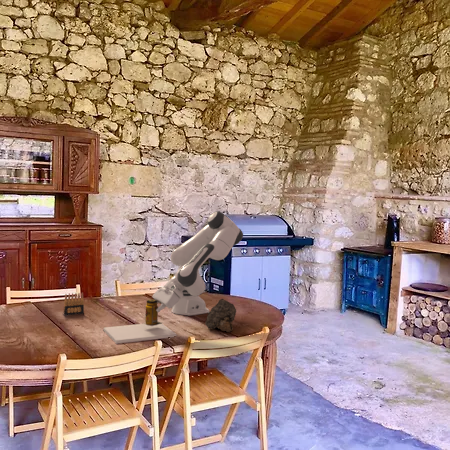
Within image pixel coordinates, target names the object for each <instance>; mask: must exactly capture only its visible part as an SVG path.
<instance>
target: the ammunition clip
mask: <svg viewBox="0 0 450 450" xmlns="http://www.w3.org/2000/svg"><path fill="white" fill-rule="evenodd" d="M84 301H85V300H84V293H83V292H81V294H80V292H78V293H76V292H75V293H73V292H72V293H71V294H70V293H68V294H67V293H65V295H64V301H63V302H64V304H63V305H64V306H63V316H73V315H84V314H85V310H84Z"/></svg>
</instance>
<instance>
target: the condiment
mask: <svg viewBox="0 0 450 450" xmlns="http://www.w3.org/2000/svg"><path fill="white" fill-rule="evenodd" d="M157 307H159V306H158V304H157V300H155V299H154V298H153V299H147V300H146V304H145V319H144V320H145V321H144V322H142V323H141V324H145V325H148V326H155V325H158V324H163V322H161V321H158V318H159V316H158V314H159V312H157V311H156V309H157Z"/></svg>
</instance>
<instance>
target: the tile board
mask: <svg viewBox="0 0 450 450" xmlns="http://www.w3.org/2000/svg"><path fill="white" fill-rule="evenodd" d="M102 329H103V332H104V333H105V334H106V335H107V336H108V337H109V339H111V340H112V341H113V342H114V344H124V343H125V344H126V343H132V342H141V341H142V342H143V341H150V340H151V341H152V340H160V339H169V338H168V337H170V338H175V337H174V336H176V337H177V335H178V334H177V333H176V332H175V331H174V330H172V329H170V328H169V327H168V326H166V325H164V323H162V324H158V325H155V326H148V325H145V324H142V323H136V324H128V325H125V324H124V325H117V326H108V327H107V326H105V327H103V328H102Z"/></svg>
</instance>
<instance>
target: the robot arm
mask: <svg viewBox="0 0 450 450" xmlns="http://www.w3.org/2000/svg"><path fill="white" fill-rule="evenodd" d="M243 237H244V232H243V231H242V229H241V228H240V227H239V226H238V225H237V224H236V223H235V222H234V221H233V220H231V219H230V217H228V216H226V215H225V213H223V212H222V211H220V210H216V211H214V212H213V213H211V214H210V216H208V219H207V224H206V225H205V226H203V228H201V229H200V230H199V231H198V232H197V233H196V234H195V235H193V236H192V237H191V238H189V239H188V240H186V241H184V242H183V243H182V244H180V246H178V247H177V248H175V249H174V250H173V251H171V254H170V261H171V263H172V264H173V265H174V266H178V268H177V270H176V273H175V274H174V276H172V277H171V278H170V279H169V280H168V281H167V282H166V283H165V284H164V286H161V287H159V288H158V289H157V290H156V291H155V292H154V293H153V295H152V296H151V297H152V298H153V299H154V300H157V305H158V304H160V305H159V306H158V307H157V309H156V311H157V312H158V313H160V312H161V310H163V309H165V308H167V309H171V312H172V313H173V314H176V315H183V316H197V315H202V314H208V313H209V312H210V309H209V308H207V307H206V302H205V300H204V299H203V298H202V297H201V295H202V294H203V293H204V292H205V290H206V283H205V281H204V279H203V277H202V276H201V275H200V274H201V273H200V270H199V269H200V268H201V267H202V266H203V264H205V262H206V261H207V260H208V259H212V260H215V261H221V260H223V259H225V258H226V257H227V256H228V255H229V253H230V251H231V250H232V248H233V247H234V246H237V245H238V244H239V243H240V242H241V241H242V239H243Z"/></svg>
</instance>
